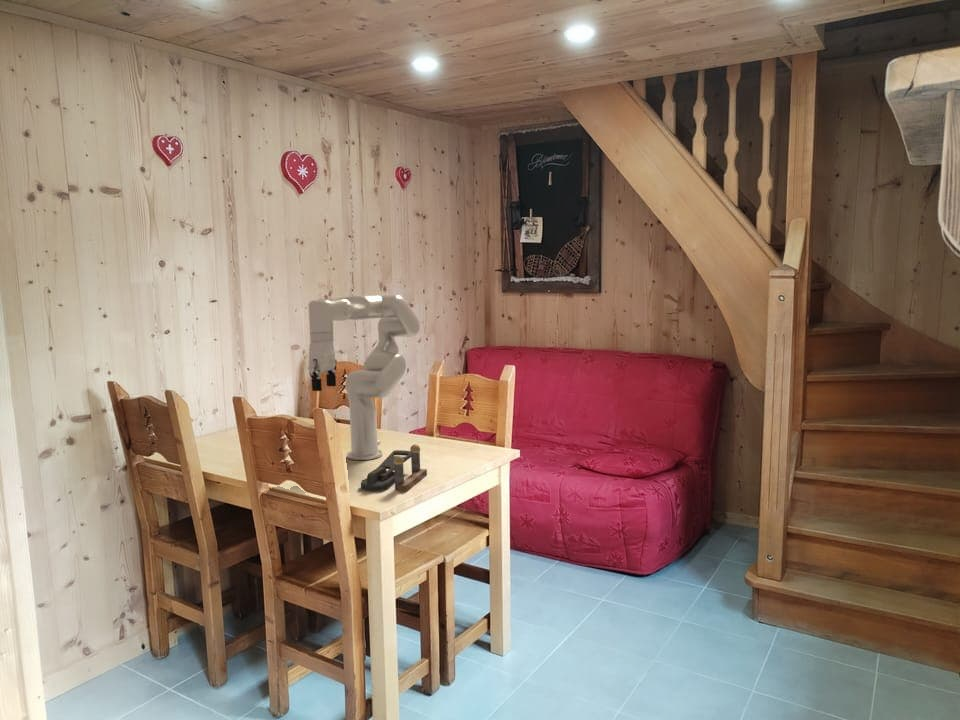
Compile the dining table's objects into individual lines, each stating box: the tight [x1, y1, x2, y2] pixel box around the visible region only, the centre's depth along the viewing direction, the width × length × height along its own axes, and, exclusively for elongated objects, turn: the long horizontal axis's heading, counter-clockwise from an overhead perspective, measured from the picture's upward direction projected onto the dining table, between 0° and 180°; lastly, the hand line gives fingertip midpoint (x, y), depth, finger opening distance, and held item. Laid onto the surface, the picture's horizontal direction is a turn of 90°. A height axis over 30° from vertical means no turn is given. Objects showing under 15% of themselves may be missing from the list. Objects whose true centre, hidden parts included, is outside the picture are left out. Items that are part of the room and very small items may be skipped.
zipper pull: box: [360, 449, 411, 493], centre depth 214 cm, size 9×7×25 cm
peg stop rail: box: [393, 444, 428, 493], centre depth 210 cm, size 18×5×11 cm, turn 164°
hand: (324, 388), depth 223 cm, fingers open, 9 cm apart
